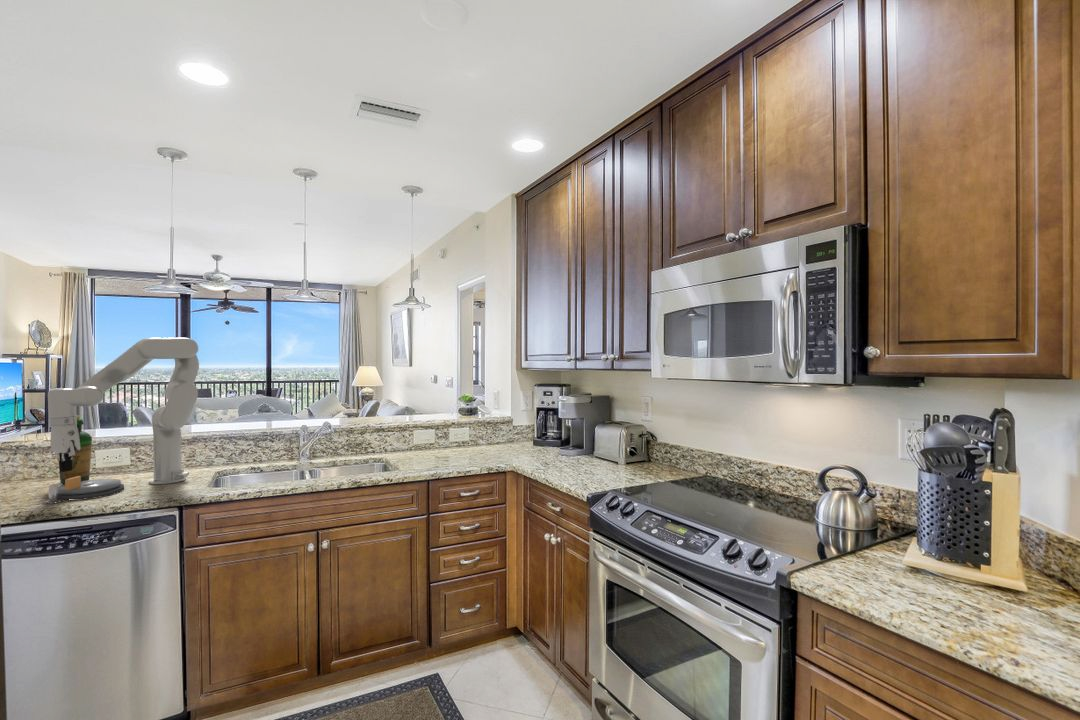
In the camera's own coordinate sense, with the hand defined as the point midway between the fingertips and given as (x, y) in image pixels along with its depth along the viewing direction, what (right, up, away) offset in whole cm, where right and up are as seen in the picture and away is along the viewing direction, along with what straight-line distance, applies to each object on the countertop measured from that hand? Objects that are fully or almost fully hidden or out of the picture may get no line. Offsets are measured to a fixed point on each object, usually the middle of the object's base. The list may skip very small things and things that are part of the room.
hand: (65, 470), depth 193 cm
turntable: (+4, -8, +5) cm, 10 cm away
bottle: (-12, -10, +18) cm, 24 cm away
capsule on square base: (+3, -10, -8) cm, 13 cm away
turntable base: (+4, -10, +5) cm, 12 cm away
